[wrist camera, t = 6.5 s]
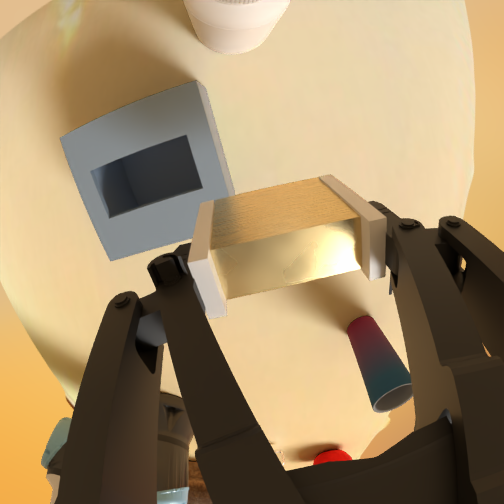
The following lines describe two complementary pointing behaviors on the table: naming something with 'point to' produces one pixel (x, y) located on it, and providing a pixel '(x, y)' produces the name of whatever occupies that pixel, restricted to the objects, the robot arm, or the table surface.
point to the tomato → (331, 456)
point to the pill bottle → (234, 22)
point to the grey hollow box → (149, 169)
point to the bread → (197, 486)
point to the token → (283, 237)
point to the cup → (379, 366)
